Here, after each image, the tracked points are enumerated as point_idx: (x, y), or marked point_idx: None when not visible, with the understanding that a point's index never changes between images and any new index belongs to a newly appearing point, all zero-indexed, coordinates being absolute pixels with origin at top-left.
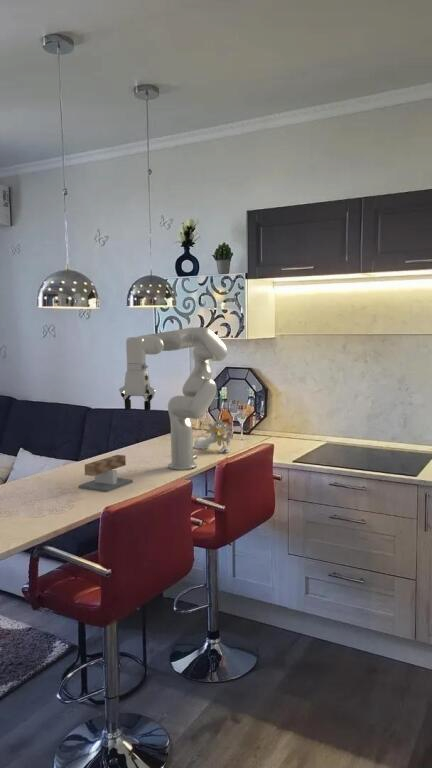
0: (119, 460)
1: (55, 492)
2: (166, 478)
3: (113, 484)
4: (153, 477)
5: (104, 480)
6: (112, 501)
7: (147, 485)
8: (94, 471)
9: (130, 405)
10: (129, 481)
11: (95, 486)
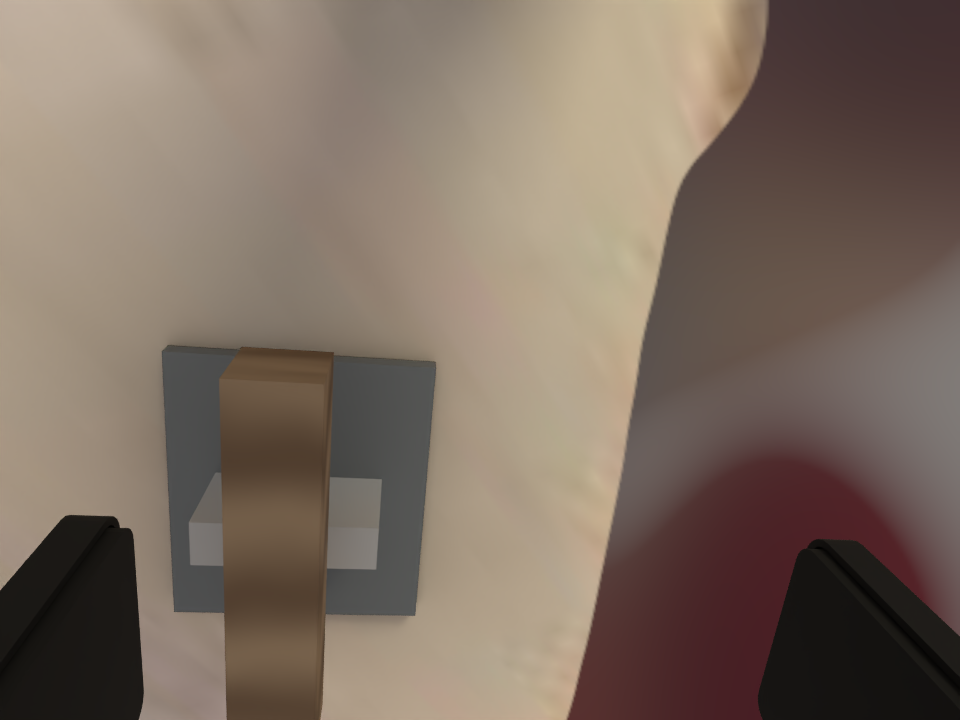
0: (324, 458)
1: None
2: (622, 170)
3: (381, 515)
4: (509, 177)
5: None
6: (549, 715)
7: (576, 393)
8: (319, 714)
9: (82, 607)
10: (432, 402)
11: None
